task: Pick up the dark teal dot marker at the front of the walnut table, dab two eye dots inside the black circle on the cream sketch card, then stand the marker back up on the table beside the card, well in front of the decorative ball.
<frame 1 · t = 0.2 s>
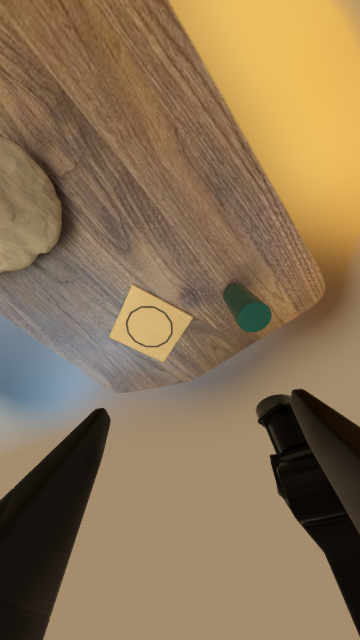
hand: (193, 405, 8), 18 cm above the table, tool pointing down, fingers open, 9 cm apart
sketch card: (150, 326, 27), on the table
marker: (233, 292, 24), on the table
decorative stone: (15, 228, 22), on the table
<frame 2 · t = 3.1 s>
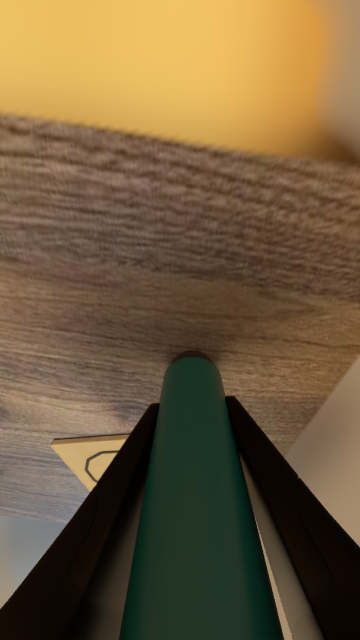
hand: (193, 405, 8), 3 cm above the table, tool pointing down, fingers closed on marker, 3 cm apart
sketch card: (126, 467, 16), on the table
marker: (191, 367, 11), on the table, touching gripper
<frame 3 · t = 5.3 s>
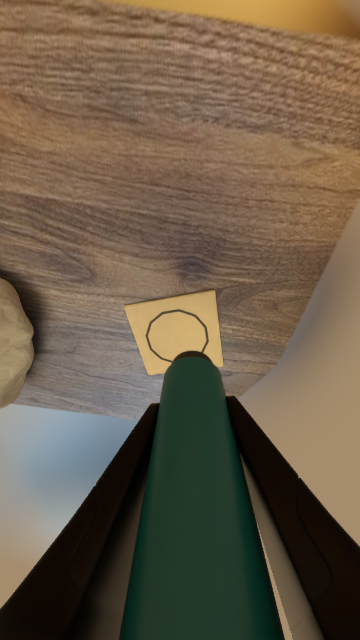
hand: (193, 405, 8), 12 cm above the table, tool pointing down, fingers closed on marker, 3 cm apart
sketch card: (177, 336, 20), on the table
marker: (192, 367, 10), point 9 cm above the table, touching gripper
decorative stone: (9, 332, 22), on the table
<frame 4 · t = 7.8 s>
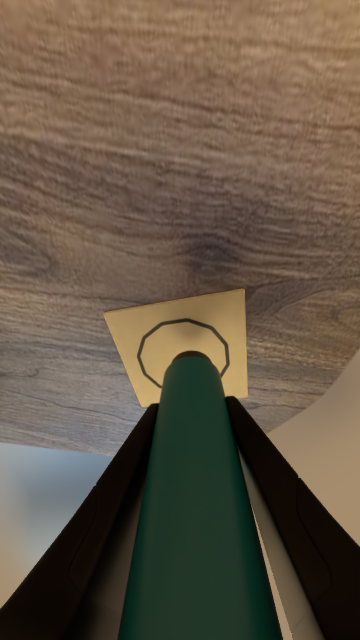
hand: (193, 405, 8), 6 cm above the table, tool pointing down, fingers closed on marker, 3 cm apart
sketch card: (183, 356, 14), on the table
marker: (191, 367, 11), point 3 cm above the table, touching gripper
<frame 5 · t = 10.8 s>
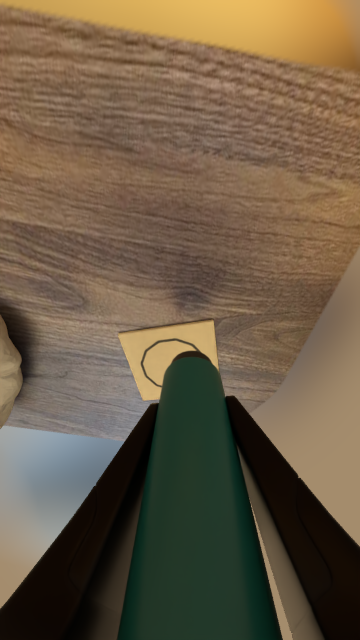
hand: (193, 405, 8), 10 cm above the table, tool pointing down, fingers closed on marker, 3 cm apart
sketch card: (173, 364, 20), on the table
marker: (191, 367, 11), point 7 cm above the table, touching gripper
when the fingers open (3 cm above the table, at t = 13.0 s): marker stays where it is, on the table.
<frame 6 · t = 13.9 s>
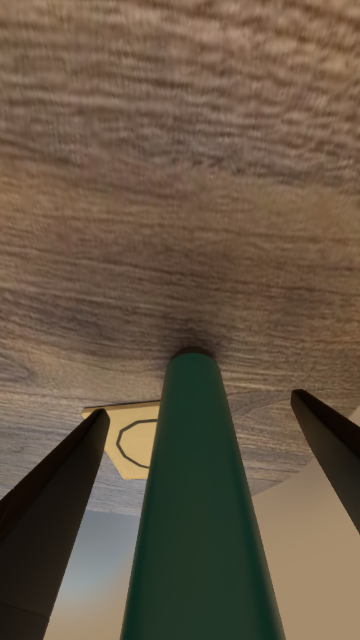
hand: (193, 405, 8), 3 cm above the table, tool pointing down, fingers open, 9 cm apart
sketch card: (161, 442, 15), on the table
marker: (192, 363, 11), on the table
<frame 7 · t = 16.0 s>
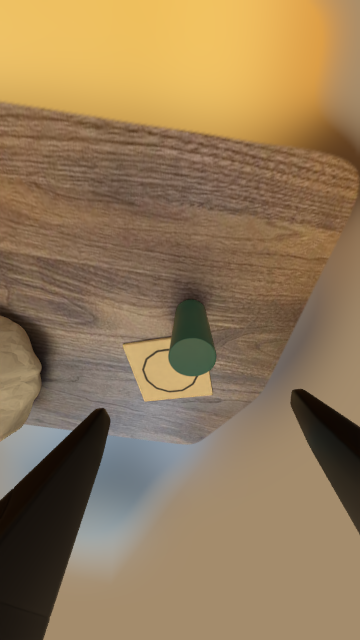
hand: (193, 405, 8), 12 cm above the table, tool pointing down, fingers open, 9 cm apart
sketch card: (170, 369, 23), on the table
marker: (190, 310, 19), on the table
decorative stone: (18, 364, 24), on the table
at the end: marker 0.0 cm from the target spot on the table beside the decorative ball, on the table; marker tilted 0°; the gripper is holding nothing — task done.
